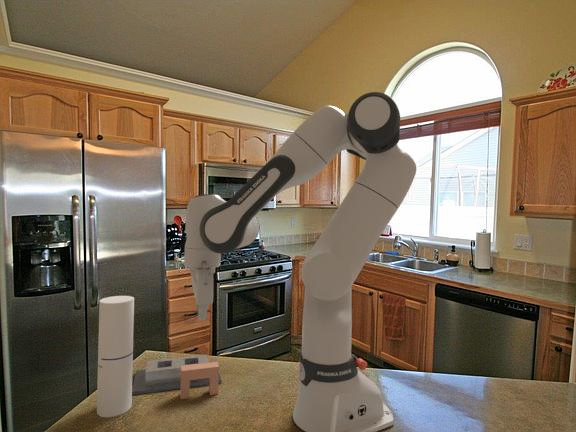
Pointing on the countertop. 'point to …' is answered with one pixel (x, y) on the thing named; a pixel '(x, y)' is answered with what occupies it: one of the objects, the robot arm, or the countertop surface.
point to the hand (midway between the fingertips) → (200, 314)
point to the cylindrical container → (115, 355)
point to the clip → (199, 377)
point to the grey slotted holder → (166, 375)
